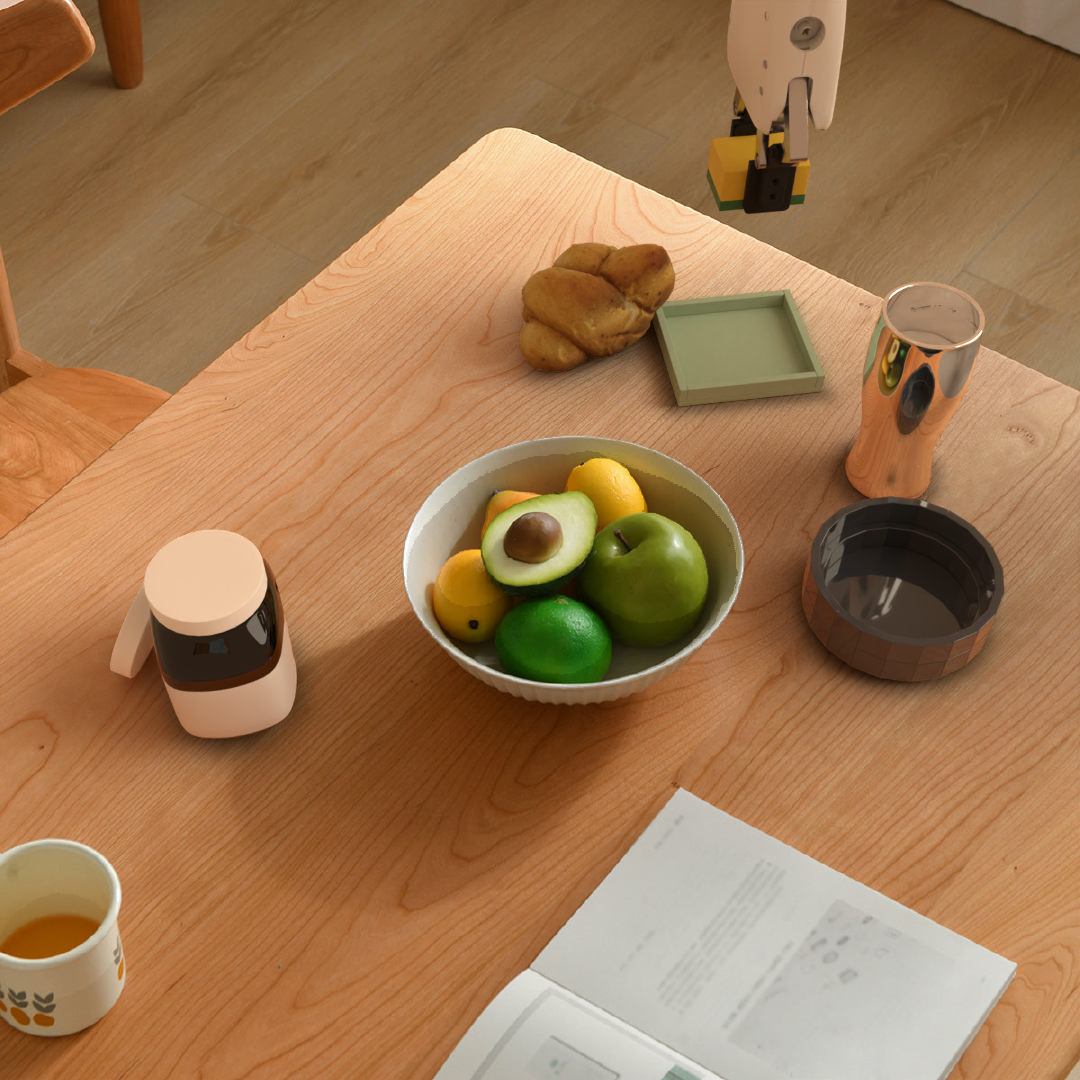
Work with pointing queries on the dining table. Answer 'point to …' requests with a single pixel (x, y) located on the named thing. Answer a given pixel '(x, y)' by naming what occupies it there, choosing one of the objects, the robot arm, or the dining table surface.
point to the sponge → (743, 170)
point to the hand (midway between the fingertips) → (757, 186)
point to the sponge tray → (736, 348)
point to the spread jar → (213, 635)
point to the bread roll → (592, 303)
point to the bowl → (901, 588)
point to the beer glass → (912, 385)
